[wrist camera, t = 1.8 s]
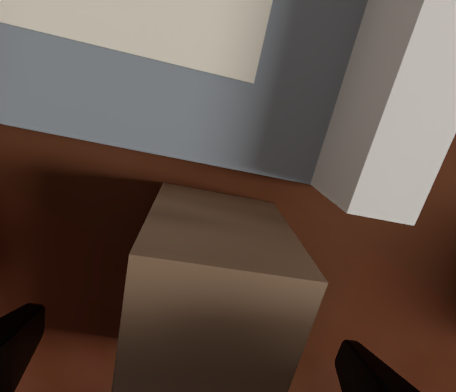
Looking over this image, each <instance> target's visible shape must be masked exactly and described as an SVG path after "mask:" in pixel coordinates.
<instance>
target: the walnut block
mask: <svg viewBox="0 0 456 392" xmlns="http://www.w3.org/2000/svg"><path fill="white" fill-rule="evenodd" d="M327 285H328V282H327V280H326V279H325V277H324V276H323V274H322V273H321V272H320V270H319V269H318V267H317V266H316V264H315V263H314V261H313V260H312V258H311V257H310V256H309V254H308V253H307V251H306V250H305V248H304V247H303V245H302V244H301V242H300V241H299V239H298V238H297V237H296V235H295V234H294V232H293V231H292V229H291V228H290V226H289V225H288V223H287V222H286V220H285V219H284V218H283V216H282V215H281V213H280V212H279V210H278V209H277V207H276V206H275V204H274V203H273V202H267V201H262V200H256V199H251V198H245V197H240V196H234V195H229V194H223V193H218V192H212V191H207V190H201V189H196V188H190V187H185V186H180V185H174V184H169V183H163V184H162V186H161V188H160V190H159V192H158V195H157V197H156V199H155V201H154V203H153V205H152V207H151V209H150V211H149V213H148V216H147V218H146V220H145V222H144V224H143V226H142V228H141V230H140V232H139V234H138V237H137V239H136V241H135V243H134V245H133V247H132V249H131V251H130V253H129V258H128V266H127V274H126V282H125V290H124V298H123V305H122V313H121V321H120V329H119V337H118V344H117V352H116V360H115V368H114V376H113V384H112V391H111V392H288V390H289V387H290V385H291V382H292V379H293V376H294V374H295V371H296V368H297V366H298V363H299V360H300V358H301V355H302V352H303V350H304V347H305V344H306V341H307V339H308V336H309V333H310V331H311V328H312V325H313V323H314V320H315V317H316V315H317V312H318V309H319V307H320V304H321V301H322V298H323V296H324V293H325V290H326V288H327Z"/></svg>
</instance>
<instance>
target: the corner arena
mask: <svg viewBox="0 0 456 392" xmlns="http://www.w3.org/2000/svg"><path fill="white" fill-rule="evenodd" d="M0 124H4V125H9V126H14V127H19V128H25V129H30V130H35V131H40V132H45V133H50V134H55V135H60V136H65V137H70V138H76V139H81V140H86V141H91V142H96V143H101V144H106V145H111V146H116V147H122V148H127V149H132V150H137V151H142V152H147V153H152V154H157V155H162V156H167V157H173V158H178V159H183V160H188V161H193V162H198V163H203V164H208V165H213V166H219V167H224V168H229V169H234V170H239V171H244V172H249V173H254V174H259V175H264V176H270V177H275V178H280V179H285V180H290V181H295V182H300V183H305V184H310V185H312V186H313V187H314V188H315V189H317V190H318V191H319V192H320V193H322V194H323V195H324V196H325V197H327V198H328V199H329V200H330V201H332V202H333V203H334V204H336V205H337V206H338V207H339V208H341V209H342V210H343V211H344V212H346V213H348V214H353V215H359V216H364V217H369V218H375V219H380V220H386V221H391V222H397V223H402V224H407V225H413V226H414V225H415V223H416V221H417V218H418V216H419V214H420V212H421V209H422V207H423V205H424V203H425V201H426V198H427V196H428V194H429V192H430V189H431V187H432V185H433V183H434V180H435V178H436V176H437V174H438V171H439V169H440V167H441V165H442V162H443V160H444V158H445V156H446V153H447V151H448V149H449V147H450V144H451V142H452V140H453V138H454V136H455V133H456V0H0Z"/></svg>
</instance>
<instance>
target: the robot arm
mask: <svg viewBox="0 0 456 392" xmlns="http://www.w3.org/2000/svg"><path fill="white" fill-rule="evenodd" d="M44 324H45V307H44V306H43V305H41V304H33V303H28V304H25V305H23V306H21V307H19V308H18V309H16V310H14V311H12V312H10V313H8V314H6V315H4V316H3V317H1V318H0V392H14V391H15V389H16V387H17V385H18V383H19V382H20V380H21V378H22V376H23V374H24V372H25V370H26V368H27V366H28V364H29V362H30V360H31V358H32V356H33V354H34V352H35V350H36V348H37V346H38V344H39V342H40V340H41V338H42V336H43V333H44ZM335 368H336V372H337V375H338V379H339V382H340V386H341V390H342V392H420V391H419V390H417V389H416V388H415V387H414V386H412V385H411V384H410V383H409V382H407V381H406V380H405V379H404V378H402V377H401V376H400V375H399V374H398V373H396V372H395V371H394V370H393V369H391V368H390V367H389V366H388V365H386V364H385V363H384V362H383V361H381V360H380V359H379V358H378V357H376V356H375V355H374V354H373V353H371V352H370V351H369V350H368V349H367V348H365V347H364V346H363V345H362V344H360V343H359V342H357V341H354V340H344V341H343V342H342V344H341V346H340V349H339V351H338V354H337V356H336V359H335Z"/></svg>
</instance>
